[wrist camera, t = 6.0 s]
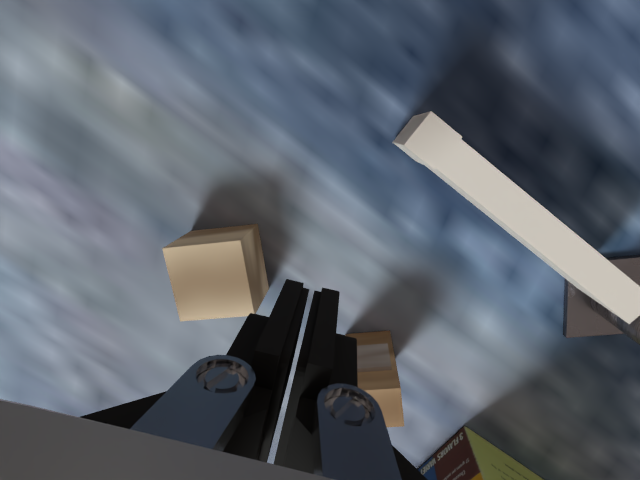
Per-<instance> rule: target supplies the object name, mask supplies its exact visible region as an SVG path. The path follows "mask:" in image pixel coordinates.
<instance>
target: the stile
mask: <svg viewBox="0 0 640 480" xmlns="http://www.w3.org/2000/svg"><path fill="white" fill-rule="evenodd" d="M346 336H349V337H353V338H356V339H357V375H358V388H360V389H362V390H364V391H366V392H367V393H368V394H370V395H371V396H372V397H373V398H374V399H375V400H376V401H377V402H378V404H379V406H380V408H381V410H382V414H383V417H384V421H385V424H386V427H399V426H404V419H403V409H402V398H401V388H400V382H399V377H398V372H397V366H396V361H395V355H394V350H393V344H392V339H391V334H390V331H377V332H365V333H352V334H346Z"/></svg>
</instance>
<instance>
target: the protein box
mask: <svg viewBox="0 0 640 480" xmlns="http://www.w3.org/2000/svg"><path fill="white" fill-rule="evenodd" d="M418 471H419V472H420V473H421V474H422V475H423V476H425V477H426V478H427V479H428V480H544V479H542V478H541V477H539V476H538V475H536V474H535V473H533V472H532V471H530V470H529V469H527V468H526V467H525V466H523V465H522V464H520V463H519V462H517V461H516V460H514V459H513V458H511V457H510V456H508V455H507V454H505V453H504V452H503V451H501V450H500V449H498V448H497V447H495V446H494V445H492V444H491V443H489V442H488V441H486V440H485V439H483V438H482V437H480V436H479V435H477V434H476V433H475V432H473V431H472V430H470V429H469V428H467V427H463V428H462V429H461V430H460V431H459V432H458V433H457V434H456V435H454V436H453V437H452V438H451V439H450V440H449V441H448V442H447V443H446V444H445V445H444V446H443V447H442V448H441V449H439V450H438V451H437V452H436V453H435V454H434V455H433V456H432V457H431V458H430V459H429V460H428V461H426V462H425V463H424V464H423V465H422V466H421V467H420V468H419V469H418Z"/></svg>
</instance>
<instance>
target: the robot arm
mask: <svg viewBox="0 0 640 480" xmlns="http://www.w3.org/2000/svg"><path fill="white" fill-rule="evenodd" d="M303 284H304V283H301V282H297V281H292V280H288V279H286V281H285V284H284V286H283V288H282V290H281V292H280V295H279V297H278V299H277V301H276V304H275V306H274V308H273V310H272V313H271V315H270V317H266V316H261V315H257V314H253V313H250V314H249V315H248V317H247V319H246V321H245V323H244V324H243V326H242V328H241V330H240V331H239V333H238V335H237V337H236V338H235V340H234V342H233V344H232V346H231V347H230V349H229V351H228V353H227V354H226V355H215V356H208V357H206V358H203V359H200V360H199V361H197V362H196V363H195V364H193V365H192V366H191V367H190V368H189V369H188V370H187V371H186V372H185V373H184V374H183V375H182V376H181V377H180V378H179V379H178V380H177V381H176V382H175V383H174V385H173V386H172V387H171V388H170V389H169V390H168V391H166V392H163V393H159V394H156V395H152V396H149V397H146V398H142V399H139V400H136V401H132V402H129V403H125V404H122V405H119V406H115V407H112V408H108V409H105V410H102V411H98V412H95V413H91V414H88V415H85V416H81V417H76V416H72V415H68V414H63V413H59V412H55V411H51V410H47V409H43V408H38V407H34V406H30V405H26V404H22V403H17V402H12V401H7V400H2V399H0V480H428V479H427V478H426V477H425V476H423V475H422V474H421V473H420V472H419V471H418V470H417V469H416V468H415V467H414V466H413V465H412V464H411V463H410V462H409V461H408V460H407V459H406V458H405V457H404V456H403V455H402V454H401V453H400V452H399V451H397V450H396V449H395V448H394V447H393V446H392V445H391V441H390V438H389V434H388V431H387V427H386V424H385V421H384V417H383V414H382V410H381V408H380V406H379V404H378V402H377V401H376V400H375V399H374V398H373V397H372V396H371V395H370V394H368V393H367V392H366V391H364V390H362V389H360V388H358V375H357V339H356V338H353V337H349V336H345V335H341V334H337V333H336V327H337V315H338V303H339V291H335V290H330V289H326V288H322V291H321V292H319V291H314V295H313V300H312V304H311V308H310V312H309V316H308V320H307V324H306V329H305V333H304V337H303V341H302V345H301V349H300V354H299V358H298V362H297V366H296V371H295V375H294V379H293V383H292V388H291V392H290V396H289V401H288V405H287V409H286V413H285V418H284V422H283V426H282V431H281V435H280V439H279V443H278V448H277V452H276V456H275V461H274V464H270V463H267V459H268V456H269V452H270V448H271V444H272V440H273V436H274V433H275V429H276V425H277V421H278V417H279V413H280V410H281V406H282V402H283V398H284V394H285V390H286V386H287V383H288V379H289V375H290V371H291V367H292V363H293V358H294V354H295V349H296V345H297V341H298V336H299V332H300V328H301V323H302V319H303V314H304V310H305V306H306V301H307V297H308V292H309V289H306V288H303Z"/></svg>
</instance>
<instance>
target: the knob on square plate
mask: <svg viewBox="0 0 640 480" xmlns="http://www.w3.org/2000/svg"><path fill="white" fill-rule="evenodd" d="M606 259H607V260H608V261H610V262H611V263H612V264H613V265H614V266H616V267H617V268H618V269H619V270H620V271H622V272H623V273H624V274H625V275H627V276H628V277H629V278H630V279H631V280H633V281H634V282H635V283H636V284H637V285H639V286H640V255H633V256H622V257H612V258H606ZM612 334H626V335H627V336H628V337H630V338H631V339H632V340H634V341H635V342H636V343H638V344H639V345H640V316H638V317H637V318H636V319H635V320H634V321H633V322H631V323H630V324H628V323H627V322H625V321H624V320H622V319H621V318H620V317H618V316H617V315H615V314H614V313H612V312H611V311H610V310H608V309H607V308H605V307H604V306H602V305H601V304H599V303H598V302H597V301H595V300H594V299H592V298H591V297H589V296H588V295H587V294H585V293H584V292H582V291H581V290H579V289H578V288H576V287H575V286H574V285H573V284H572V283H570V282H569V281H568V280H567V279H565V290H564V321H563V335H564V336H565V337H566V338H571V337H585V336H598V335H612Z"/></svg>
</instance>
